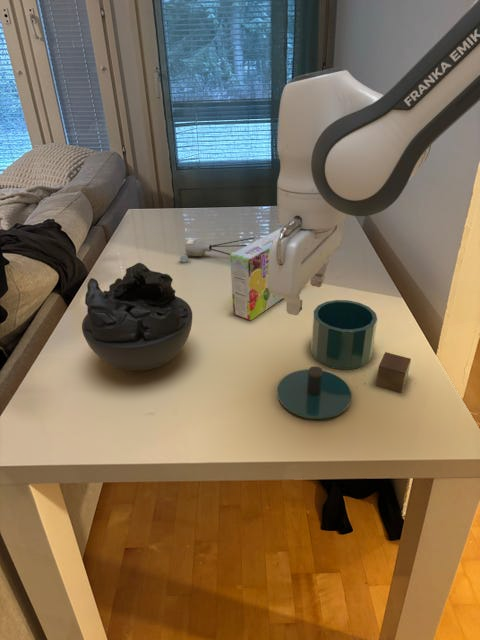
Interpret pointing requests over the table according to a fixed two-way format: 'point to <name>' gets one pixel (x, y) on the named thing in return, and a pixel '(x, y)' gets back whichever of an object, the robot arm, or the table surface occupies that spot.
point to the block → (393, 372)
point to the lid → (314, 393)
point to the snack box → (252, 278)
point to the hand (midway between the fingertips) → (306, 297)
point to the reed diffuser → (201, 248)
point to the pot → (343, 334)
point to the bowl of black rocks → (136, 320)
